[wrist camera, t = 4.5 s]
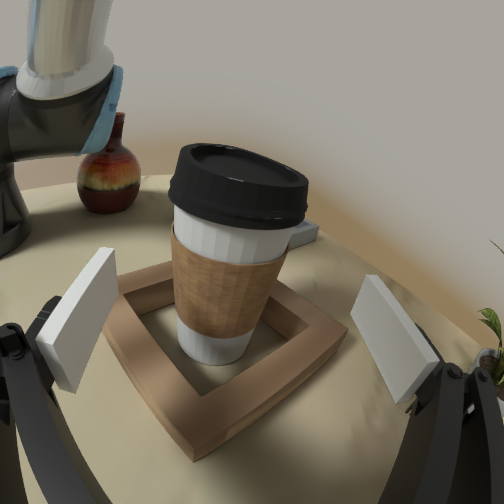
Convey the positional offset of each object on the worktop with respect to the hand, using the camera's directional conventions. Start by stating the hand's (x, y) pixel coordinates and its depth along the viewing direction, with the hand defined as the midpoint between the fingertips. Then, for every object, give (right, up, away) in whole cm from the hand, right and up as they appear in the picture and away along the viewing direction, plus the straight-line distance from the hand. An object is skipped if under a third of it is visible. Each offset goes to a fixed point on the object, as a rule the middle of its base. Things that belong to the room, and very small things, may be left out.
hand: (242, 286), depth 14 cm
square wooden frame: (-3, -6, +9) cm, 11 cm away
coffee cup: (-3, -6, +9) cm, 11 cm away
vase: (-24, +9, +28) cm, 38 cm away
